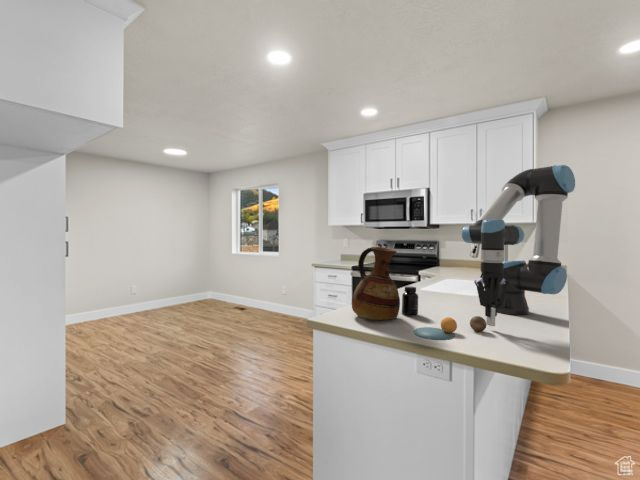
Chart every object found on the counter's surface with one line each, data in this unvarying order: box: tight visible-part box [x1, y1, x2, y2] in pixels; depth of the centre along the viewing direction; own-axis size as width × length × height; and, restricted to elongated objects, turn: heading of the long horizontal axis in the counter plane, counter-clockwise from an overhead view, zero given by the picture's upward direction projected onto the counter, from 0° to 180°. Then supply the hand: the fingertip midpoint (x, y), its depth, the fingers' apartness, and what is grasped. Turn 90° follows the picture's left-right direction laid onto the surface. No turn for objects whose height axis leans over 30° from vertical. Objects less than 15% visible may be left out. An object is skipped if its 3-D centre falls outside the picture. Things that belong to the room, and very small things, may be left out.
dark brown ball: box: [469, 315, 487, 333], centre depth 123 cm, size 6×6×6 cm
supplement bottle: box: [401, 285, 419, 317], centre depth 147 cm, size 7×7×12 cm
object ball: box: [440, 316, 458, 333], centre depth 121 cm, size 6×6×6 cm
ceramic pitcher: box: [351, 245, 401, 321], centre depth 141 cm, size 20×20×30 cm
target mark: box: [412, 326, 455, 341], centre depth 120 cm, size 14×14×1 cm
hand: (490, 325), depth 124 cm, fingers closed
